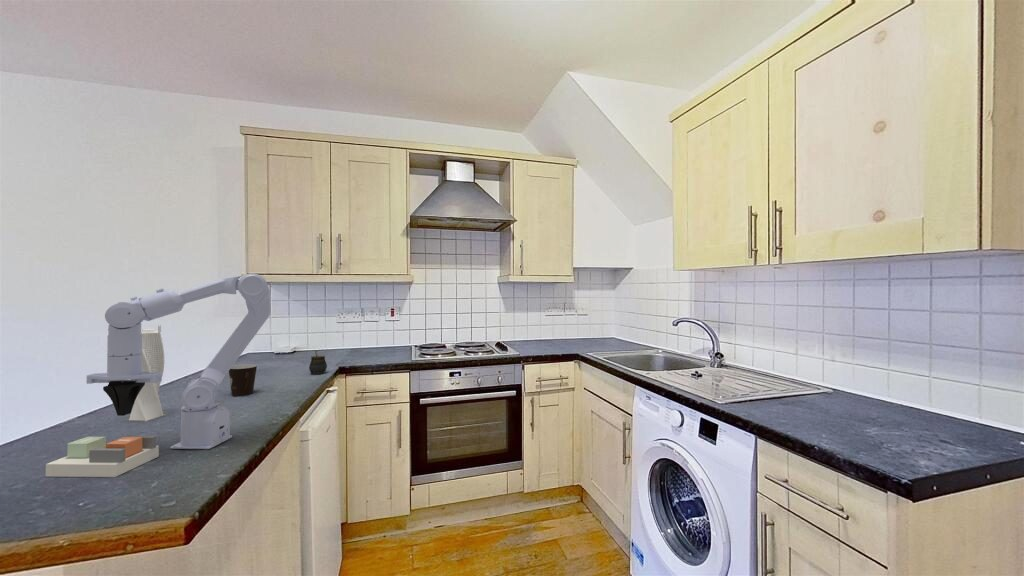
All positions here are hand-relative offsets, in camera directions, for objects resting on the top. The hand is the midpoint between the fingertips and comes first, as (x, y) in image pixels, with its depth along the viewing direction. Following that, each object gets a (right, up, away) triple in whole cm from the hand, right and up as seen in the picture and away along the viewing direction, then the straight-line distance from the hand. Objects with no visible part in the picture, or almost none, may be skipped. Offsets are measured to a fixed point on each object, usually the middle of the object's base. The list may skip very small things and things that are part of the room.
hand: (124, 414), depth 91 cm
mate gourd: (0, -10, +91) cm, 91 cm away
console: (+1, -9, -5) cm, 11 cm away
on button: (-3, -7, -5) cm, 9 cm away
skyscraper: (-19, -10, +27) cm, 34 cm away
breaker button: (+5, -7, -5) cm, 10 cm away
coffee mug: (-9, -10, +53) cm, 54 cm away
